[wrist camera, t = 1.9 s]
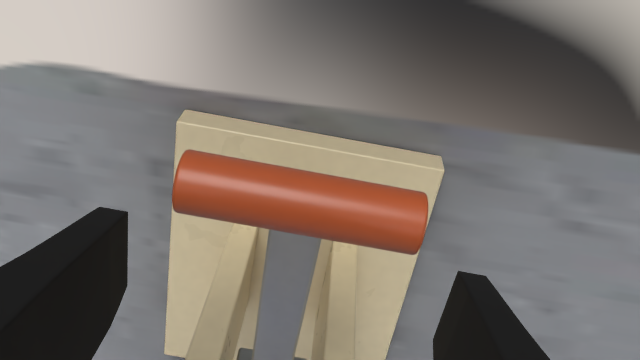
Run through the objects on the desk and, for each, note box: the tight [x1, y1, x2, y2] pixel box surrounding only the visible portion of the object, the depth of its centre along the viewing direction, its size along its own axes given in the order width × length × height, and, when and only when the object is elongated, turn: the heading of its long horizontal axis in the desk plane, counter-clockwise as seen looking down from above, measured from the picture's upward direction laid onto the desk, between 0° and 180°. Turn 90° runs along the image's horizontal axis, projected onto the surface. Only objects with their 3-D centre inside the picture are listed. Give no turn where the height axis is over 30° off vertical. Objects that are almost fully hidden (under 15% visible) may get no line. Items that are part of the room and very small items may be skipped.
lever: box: [172, 149, 428, 360], centre depth 16 cm, size 12×5×2 cm, turn 170°
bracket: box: [164, 110, 444, 360], centre depth 21 cm, size 12×10×10 cm
